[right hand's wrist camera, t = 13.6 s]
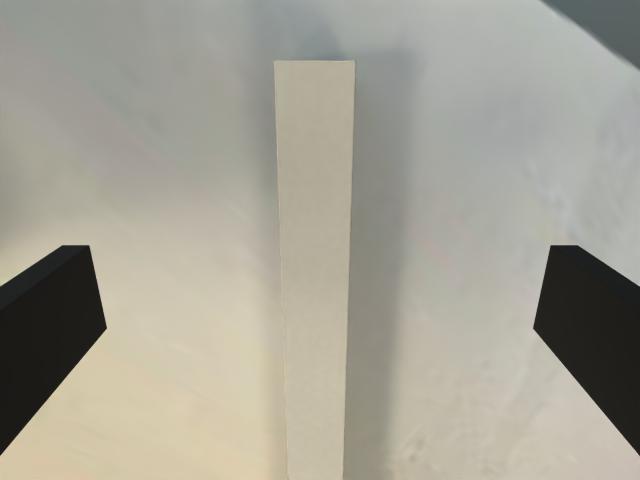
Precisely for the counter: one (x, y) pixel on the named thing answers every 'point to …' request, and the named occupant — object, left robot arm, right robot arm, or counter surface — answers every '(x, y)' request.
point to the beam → (315, 256)
